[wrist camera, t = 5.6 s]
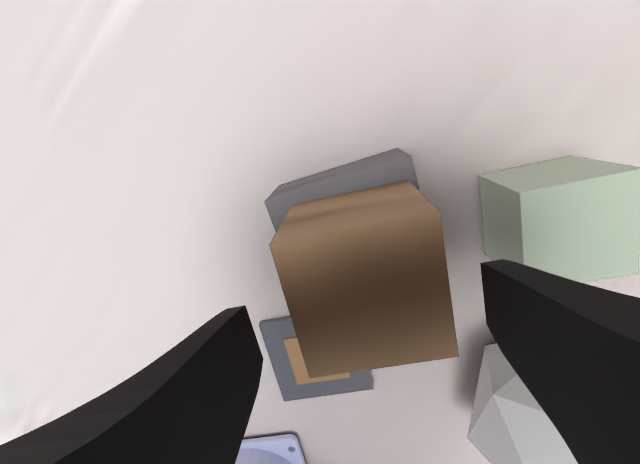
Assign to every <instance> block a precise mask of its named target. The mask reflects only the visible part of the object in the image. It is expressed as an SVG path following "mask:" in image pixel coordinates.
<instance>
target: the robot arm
mask: <svg viewBox="0 0 640 464" xmlns="http://www.w3.org/2000/svg"><path fill="white" fill-rule="evenodd" d="M481 273H482V283H483V293H484V303H485V313H486V323H487V325H488V327H489V329H490V331H491V333H492V335H493V337H494V339H495V341H496V343H497V345H498V346H499V348H500V350H501V352H502V353H503V355H504V356H505V358H506V359H507V361H508V362H509V363H510V365H511V366H512V368H513V369H514V371H515V372H516V373H517V375H518V376H519V378H520V379H521V380H522V382H523V383H524V384H525V386H526V387H527V389H528V390H529V391H530V393H531V394H532V395H533V397H534V398H535V400H536V401H537V402H538V404H539V405H540V407H541V408H542V409H543V411H544V412H545V413H546V415H547V416H548V418H549V419H550V420H551V422H552V423H553V424H554V426H555V427H556V429H557V430H558V432H559V433H560V435H561V437H562V438H563V440H564V441H565V443H566V444H567V446H568V448H569V449H570V451H571V453H572V454H573V456H574V458H575V459H576V461H577V463H578V464H640V298H637V297H633V296H629V295H625V294H621V293H617V292H613V291H609V290H605V289H602V288H598V287H594V286H591V285H587V284H584V283H580V282H577V281H574V280H570V279H567V278H564V277H561V276H558V275H554V274H551V273H548V272H545V271H542V270H539V269H536V268H533V267H530V266H527V265H523V264H520V263H517V262H513V261H510V260H505V259H500V260H495V261H489V262H484V263H481ZM262 364H263V357H262V354H261V351H260V348H259V345H258V342H257V339H256V336H255V333H254V330H253V327H252V324H251V321H250V318H249V315H248V312H247V309H246V306H240V307H234V308H228V309H226V310H224V311H222V312H221V313H219V314H218V315H216V316H215V317H213V318H212V319H211V320H209V321H208V322H207V323H205V324H204V325H203V326H201V327H200V328H199V329H197V330H196V331H195V332H193V333H192V334H191V335H189V336H188V337H187V338H185V339H184V340H183V341H181V342H180V343H179V344H177V345H176V346H175V347H173V348H172V349H171V350H169V351H168V352H166V353H165V354H164V355H162V356H161V357H159V358H158V359H157V360H155V361H154V362H152V363H151V364H150V365H148V366H147V367H145V368H144V369H142V370H141V371H139V372H138V373H136V374H135V375H133V376H132V377H130V378H129V379H127V380H125V381H124V382H122V383H120V384H119V385H117V386H116V387H114V388H112V389H111V390H109V391H107V392H106V393H104V394H102V395H100V396H99V397H97V398H95V399H93V400H91V401H89V402H87V403H86V404H84V405H82V406H80V407H78V408H76V409H74V410H73V411H71V412H69V413H67V414H65V415H63V416H61V417H60V418H58V419H56V420H54V421H52V422H50V423H47V424H45V425H43V426H41V427H39V428H37V429H35V430H33V431H31V432H29V433H27V434H24V435H22V436H20V437H18V438H16V439H13V440H11V441H9V442H7V443H5V444H2V445H0V464H306V463H305V460H304V457H303V454H302V451H301V448H300V445H299V442H298V439H297V437H296V436H295V435H293V434H286V435H278V436H270V437H262V438H253V439H245V440H243V437H244V434H245V431H246V427H247V424H248V421H249V418H250V415H251V412H252V408H253V405H254V402H255V399H256V395H257V392H258V388H259V383H260V377H261V371H262Z"/></svg>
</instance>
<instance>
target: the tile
mask: <svg viewBox="0 0 640 464" xmlns="http://www.w3.org/2000/svg"><path fill="white" fill-rule="evenodd" d="M259 327H260V330H261V333H262V336H263V339H264V342H265V345H266V348H267V351H268V354H269V357H270V360H271V363H272V366H273V369H274V372H275V375H276V378H277V381H278V384H279V387H280V390H281V393H282V396H283V399H284V401H290V400H298V399H305V398H312V397H319V396H327V395H334V394H341V393H348V392H356V391H363V390H370V389H374V388H373V382H372V378H371V373H370V370H364V371H357V372H350V373H343V374H336V375H330V376H323V377H316V378H309V376H308V373H307V369H306V366H305V363H304V359H303V356H302V353H301V349H300V346H299V343H298V339H297V336H296V333H295V329H294V326H293V323H292V319H291V316H288V317H282V318H277V319H271V320H265V321H260V323H259Z"/></svg>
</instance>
